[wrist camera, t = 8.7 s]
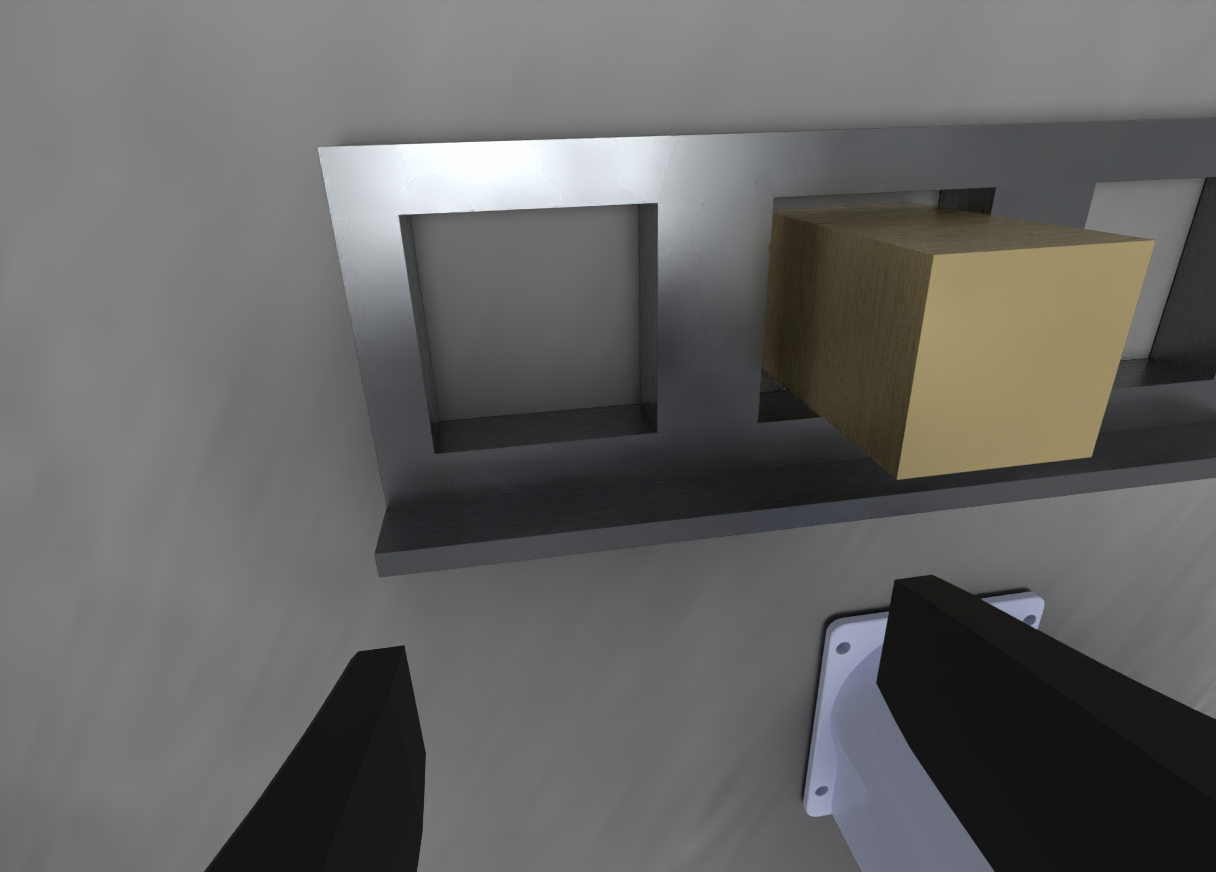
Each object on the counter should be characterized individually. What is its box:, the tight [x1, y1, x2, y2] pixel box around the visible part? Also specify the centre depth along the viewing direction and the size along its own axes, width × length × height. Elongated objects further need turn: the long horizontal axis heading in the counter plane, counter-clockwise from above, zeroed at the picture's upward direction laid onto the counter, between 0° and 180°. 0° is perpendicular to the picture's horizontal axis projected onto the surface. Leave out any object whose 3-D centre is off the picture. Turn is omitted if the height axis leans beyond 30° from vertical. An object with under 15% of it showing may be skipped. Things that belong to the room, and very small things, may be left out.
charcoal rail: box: [318, 118, 1216, 577], centre depth 16 cm, size 9×24×4 cm, turn 91°
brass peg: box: [762, 203, 1156, 480], centre depth 15 cm, size 4×4×7 cm
